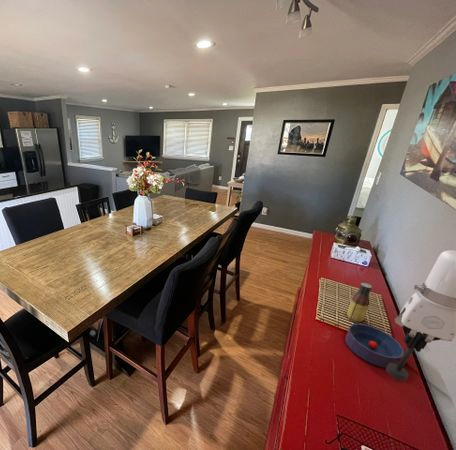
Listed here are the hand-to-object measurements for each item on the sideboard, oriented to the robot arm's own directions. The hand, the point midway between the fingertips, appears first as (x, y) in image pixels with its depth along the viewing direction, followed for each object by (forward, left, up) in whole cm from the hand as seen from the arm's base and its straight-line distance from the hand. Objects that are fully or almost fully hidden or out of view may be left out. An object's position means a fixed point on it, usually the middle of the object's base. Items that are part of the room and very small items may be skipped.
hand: (411, 346), depth 70 cm
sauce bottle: (+34, -29, -27) cm, 52 cm away
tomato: (+19, -21, -24) cm, 37 cm away
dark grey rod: (0, 0, -12) cm, 12 cm away
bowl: (+18, -19, -26) cm, 37 cm away
